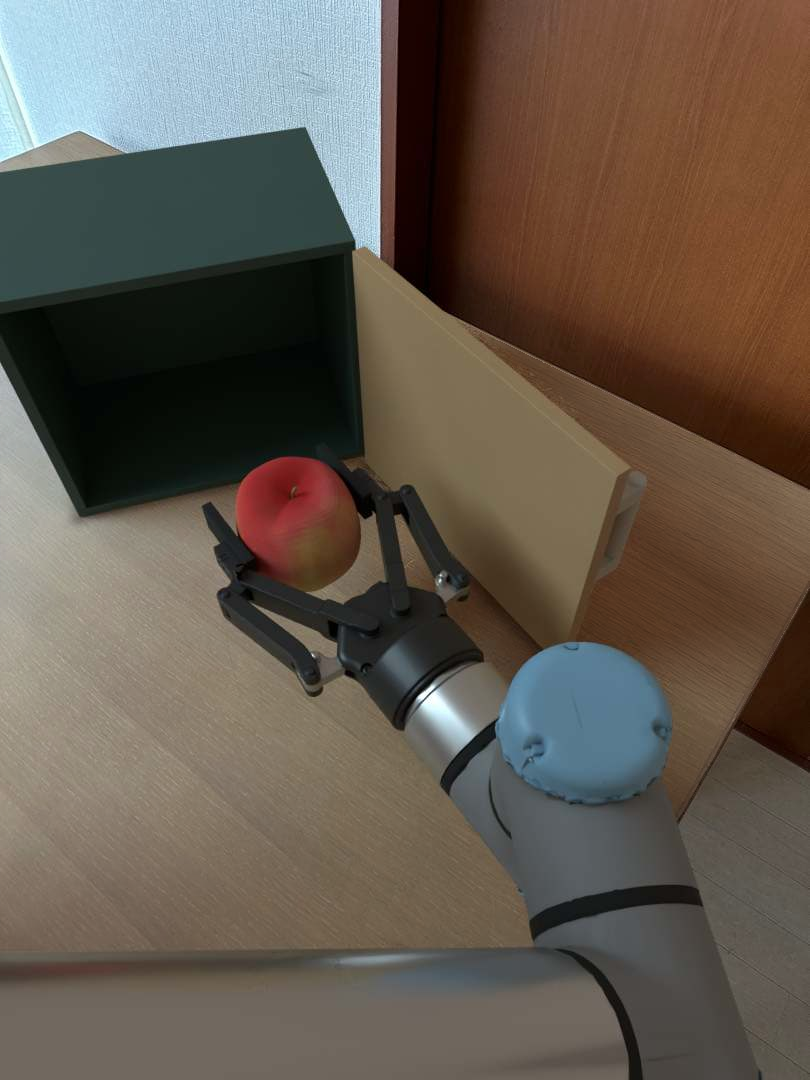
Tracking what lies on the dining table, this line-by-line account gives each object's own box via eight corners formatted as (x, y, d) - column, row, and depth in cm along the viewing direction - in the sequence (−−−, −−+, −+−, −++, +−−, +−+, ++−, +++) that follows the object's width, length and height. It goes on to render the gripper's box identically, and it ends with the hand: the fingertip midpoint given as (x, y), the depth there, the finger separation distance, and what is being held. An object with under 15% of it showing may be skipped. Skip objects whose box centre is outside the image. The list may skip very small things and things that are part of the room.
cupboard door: (422, 431, 84) (425, 219, 65) (620, 623, 71) (698, 425, 52) (365, 462, 82) (351, 251, 63) (559, 667, 68) (617, 476, 49)
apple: (232, 608, 65) (207, 531, 57) (262, 514, 70) (243, 431, 62) (354, 623, 64) (345, 546, 56) (374, 526, 69) (369, 443, 61)
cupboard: (368, 454, 82) (355, 240, 63) (79, 517, 78) (-29, 306, 59) (327, 340, 93) (305, 126, 74) (70, 390, 88) (-25, 175, 69)
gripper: (306, 818, 53) (149, 582, 64) (563, 637, 60) (384, 454, 71) (292, 774, 47) (122, 521, 58) (579, 579, 54) (381, 389, 65)
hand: (266, 484), depth 64 cm, fingers closed on apple, 9 cm apart
